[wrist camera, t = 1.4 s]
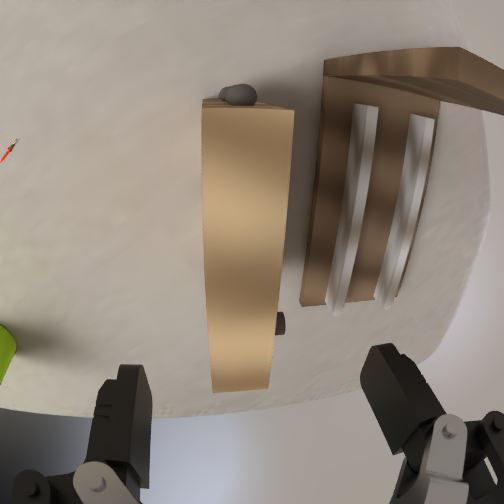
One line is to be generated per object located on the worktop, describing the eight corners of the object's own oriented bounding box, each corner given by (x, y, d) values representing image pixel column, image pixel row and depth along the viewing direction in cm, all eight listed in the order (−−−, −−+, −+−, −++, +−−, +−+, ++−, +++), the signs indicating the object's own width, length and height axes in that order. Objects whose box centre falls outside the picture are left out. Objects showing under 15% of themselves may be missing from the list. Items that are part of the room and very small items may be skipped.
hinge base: (324, 60, 22) (459, 47, 8) (434, 85, 24) (570, 116, 10) (299, 301, 34) (352, 428, 20) (393, 292, 36) (465, 390, 22)
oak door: (203, 87, 22) (202, 82, 10) (267, 88, 23) (334, 90, 11) (205, 273, 31) (212, 392, 18) (258, 271, 31) (292, 385, 19)
